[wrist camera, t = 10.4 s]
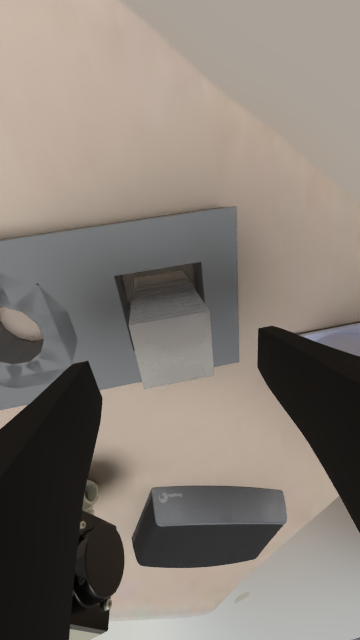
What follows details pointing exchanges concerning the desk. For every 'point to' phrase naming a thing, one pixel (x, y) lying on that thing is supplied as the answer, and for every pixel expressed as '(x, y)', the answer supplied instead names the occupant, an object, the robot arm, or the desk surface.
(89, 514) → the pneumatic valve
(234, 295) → the socket plate
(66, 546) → the robot arm
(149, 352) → the square peg
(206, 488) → the external hard drive
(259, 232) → the desk surface
